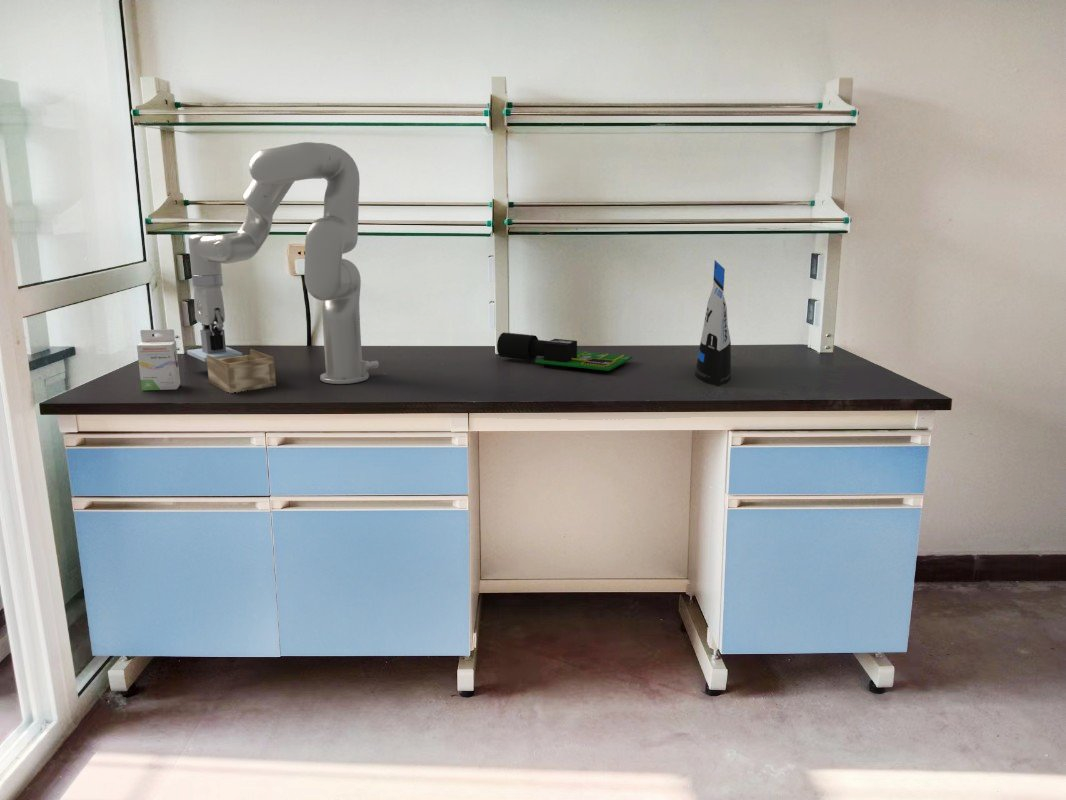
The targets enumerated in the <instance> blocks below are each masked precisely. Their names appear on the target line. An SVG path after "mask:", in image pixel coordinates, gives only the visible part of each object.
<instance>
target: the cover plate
mask: <svg viewBox="0 0 1066 800" xmlns="http://www.w3.org/2000/svg"><path fill="white" fill-rule="evenodd" d="M222 333H223V334H222V337H223V349H221V350H211V344H210V336H211V332H210V329H204V330H203V329H200V341H201V348H194V349H186V355H189V356H191V357H193V358H196V359H198V360H200V361H202V362H204V363H205V362H206V363H207V357H206V355H209V356H212V357H214V358H216V359H223V358H230V357H237V356H243V352H241V351H238V350H236V349H232V348H230V347H228V346H226V335H225V329H222Z"/></svg>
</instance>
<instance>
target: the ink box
mask: <svg viewBox="0 0 1066 800" xmlns="http://www.w3.org/2000/svg"><path fill="white" fill-rule="evenodd" d="M139 332H140V338H141V341H140V342H139V343H138V344H137V345H136V351H137V360H138V368H139V369H138V370H139V377H140V386H141V391H162V390H163V391H165V390H166V391H168V390H177V389H179V387H180V385H181V376H180V368H179V358H178V348H177V347H178V346H177V341H176V338H175V330H174V329H172V328H170V329H169V328H167V329H163V328H162V329H141V330H140V331H139ZM156 334H159V336H154V335H156ZM160 335H162V336H160Z"/></svg>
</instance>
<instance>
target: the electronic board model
mask: <svg viewBox="0 0 1066 800" xmlns="http://www.w3.org/2000/svg"><path fill="white" fill-rule="evenodd" d="M496 350H497V354H498V356H499V357H501V358H506V359H518V360H527V361H534V360H535V363H536V364H543V367H544V368H548V369H555V370H564V371H566V370H569V369H571V368H581V369H589V370H598V371H599V370H600V371H607V372H608V371H611V370H613V369H616V368H617V367H619V366H621V365H623V364H624V363H626V362H628V361H630V360H632V359H633V356H632V355H624V354H622V355H621V354H611V353H602V352H593V351H588V350H587V351H582V350H578V341H577V340H571V339H562V338H554V339H551V340H542V339H539V338H538V337H537V336H536V335H534V334H526V333H516V332H514V333H513V332H505V331H504V332H502V333H500V335H499V337H498V338H497V344H496ZM537 357H541V358H539V359H536V358H537Z"/></svg>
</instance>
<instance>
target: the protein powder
mask: <svg viewBox="0 0 1066 800" xmlns="http://www.w3.org/2000/svg"><path fill="white" fill-rule="evenodd" d="M713 266H714V267H713V283H712V289H711V291H710V295H709V297H708V300H707V304H706V305H707V306H706V312H705V316H704V322H703V327H702V332H701V338H700V344H699V348H698V349H699V350H698V355H697V361H696V362H697V363H696V366H695V374H694V376H695V377H696V378H697V379H698V380H699V381H701V382H703V383H705V384H708V385H712V386H715V387H717V388H718V387H720V386H722V385H725V384H727V383H728V382H730V381H731V380H732V378H731V375H732V374H731V371H732V369H731V367H732V361H731V360H732V359H731V357H732V354H731V353H732V350H731V349H732V348H731V347H732V344H731V343H732V342H731V336H730V330H729V325H728V323H729V322H728V321H729V320H728V308H727V303H726V300H725V295H724V292H725V291H724V287H725V273H726V272H725V270H726V269H725V267H723V266H722V265H721V264H720V263H719V262H718V261H717V260H716V259H714V265H713Z"/></svg>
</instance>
